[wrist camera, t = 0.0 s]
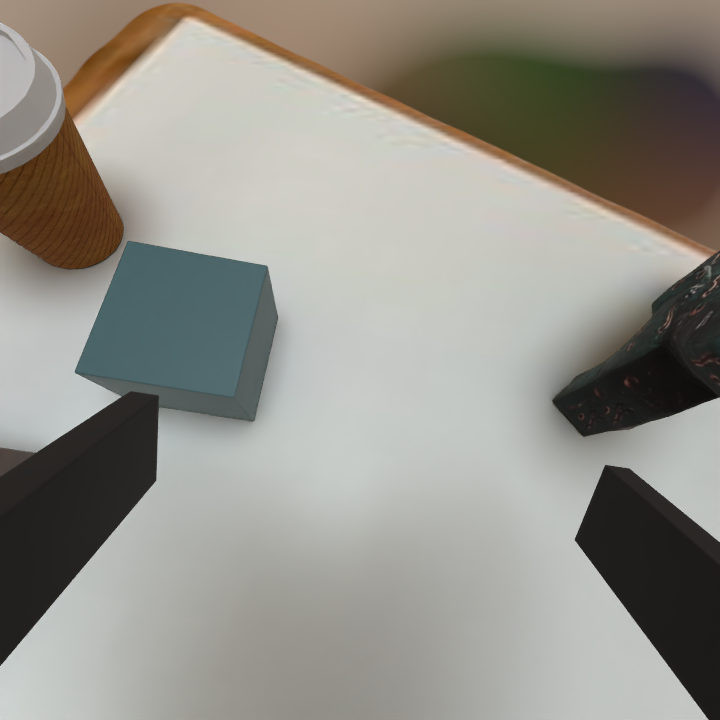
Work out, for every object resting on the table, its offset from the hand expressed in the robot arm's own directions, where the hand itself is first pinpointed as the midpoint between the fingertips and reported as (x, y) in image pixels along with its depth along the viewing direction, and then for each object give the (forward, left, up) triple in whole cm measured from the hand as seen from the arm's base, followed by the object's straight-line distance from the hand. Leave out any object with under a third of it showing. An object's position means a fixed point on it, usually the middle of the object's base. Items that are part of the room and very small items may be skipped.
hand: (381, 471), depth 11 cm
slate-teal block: (+7, +11, -15) cm, 20 cm away
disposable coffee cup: (+15, +23, -15) cm, 31 cm away
